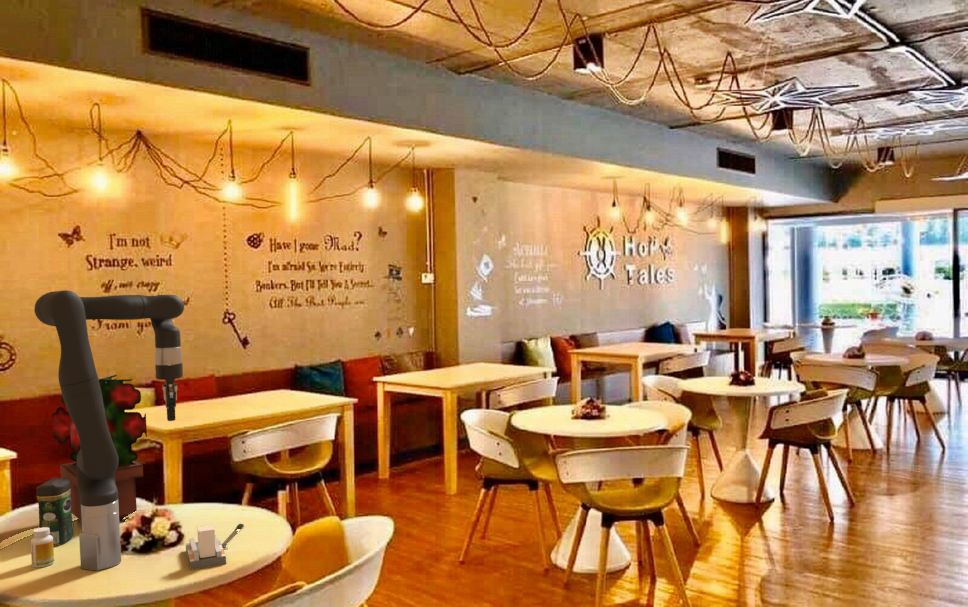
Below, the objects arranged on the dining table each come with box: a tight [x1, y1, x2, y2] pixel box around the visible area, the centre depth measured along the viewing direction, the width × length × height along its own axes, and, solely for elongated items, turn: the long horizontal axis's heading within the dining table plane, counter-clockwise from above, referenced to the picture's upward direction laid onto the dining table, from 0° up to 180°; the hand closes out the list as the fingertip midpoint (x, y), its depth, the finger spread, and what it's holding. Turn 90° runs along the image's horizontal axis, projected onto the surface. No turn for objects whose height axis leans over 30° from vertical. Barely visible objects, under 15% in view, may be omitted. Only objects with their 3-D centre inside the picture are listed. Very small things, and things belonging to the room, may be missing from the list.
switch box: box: [185, 534, 227, 571], centre depth 224 cm, size 16×9×4 cm, turn 24°
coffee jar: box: [36, 477, 75, 547], centre depth 239 cm, size 10×8×19 cm
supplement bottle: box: [30, 527, 55, 569], centre depth 221 cm, size 5×5×10 cm
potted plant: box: [51, 374, 148, 523], centre depth 260 cm, size 22×22×45 cm
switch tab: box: [196, 524, 216, 558], centre depth 219 cm, size 4×4×7 cm
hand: (171, 420), depth 240 cm, fingers closed
